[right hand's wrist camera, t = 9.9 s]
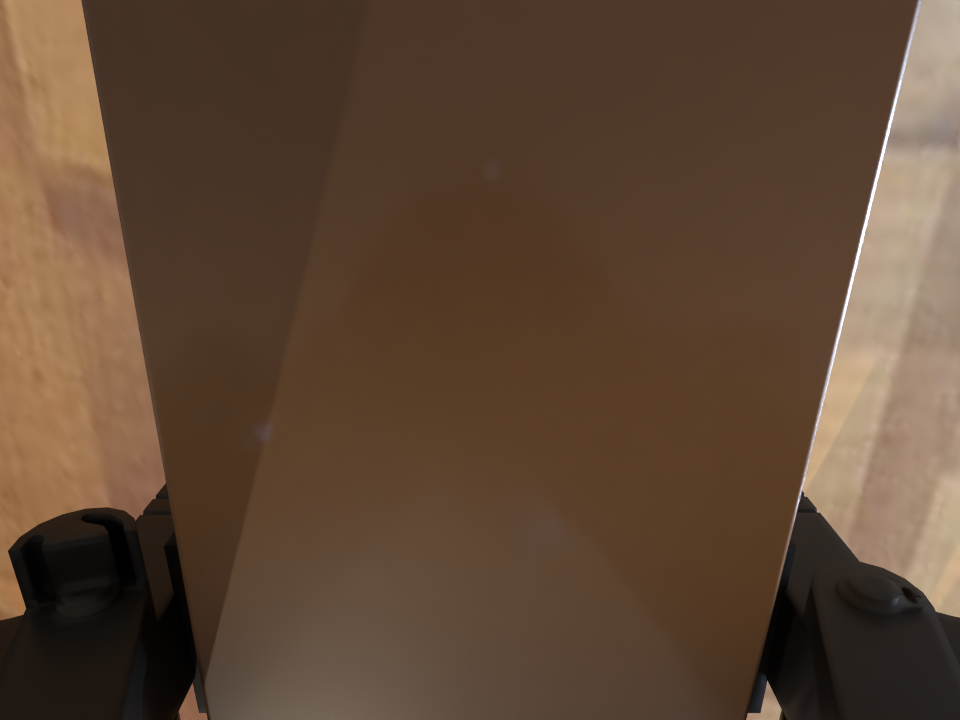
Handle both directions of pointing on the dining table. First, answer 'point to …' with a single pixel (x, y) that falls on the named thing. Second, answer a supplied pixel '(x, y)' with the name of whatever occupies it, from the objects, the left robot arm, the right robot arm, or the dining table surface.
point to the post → (490, 333)
